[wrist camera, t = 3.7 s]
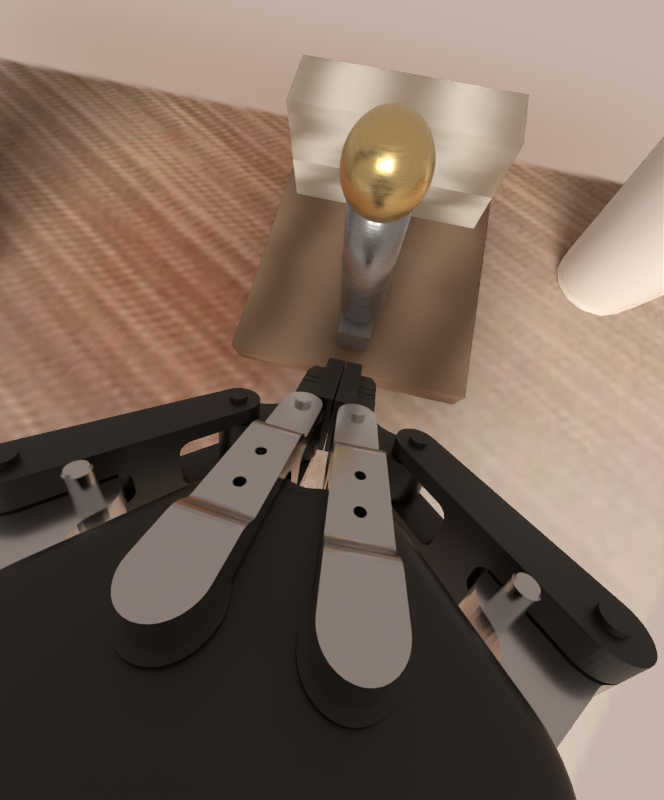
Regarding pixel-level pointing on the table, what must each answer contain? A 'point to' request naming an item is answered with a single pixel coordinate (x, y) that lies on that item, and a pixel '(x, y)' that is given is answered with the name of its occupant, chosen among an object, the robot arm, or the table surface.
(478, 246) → the board
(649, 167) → the foam cup
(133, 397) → the table surface
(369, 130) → the gold knob lever
